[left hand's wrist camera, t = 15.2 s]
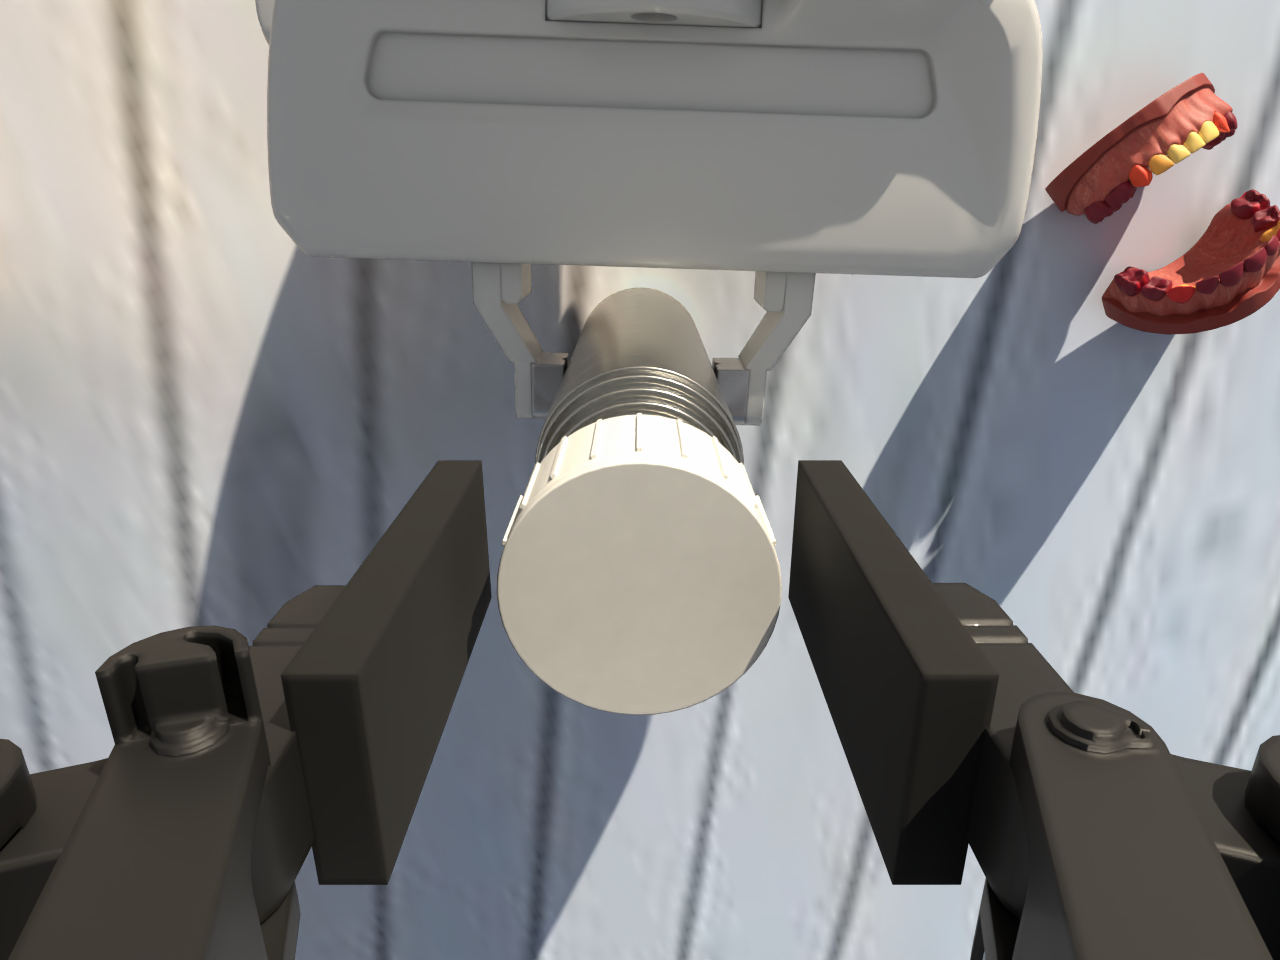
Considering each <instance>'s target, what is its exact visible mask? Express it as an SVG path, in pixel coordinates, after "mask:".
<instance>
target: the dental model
mask: <svg viewBox="0 0 1280 960" xmlns="http://www.w3.org/2000/svg"><path fill="white" fill-rule="evenodd" d="M1214 92H1215V89H1214V87H1213V85H1212V84H1211V82H1210V81H1209V80H1208V78H1207V77H1206V76H1205V74H1204V73H1200V74H1197V75H1195V76H1193V77H1191V78H1189V79H1188V80H1186V81H1185V82H1183V83H1181V84H1180V85H1178V86H1176V87H1174V88H1173V89H1171V90H1170V91H1168V92H1166V93H1165V94H1163V95H1162V96H1160V97H1159V98H1157V99H1156V100H1154V101H1153V102H1151V103H1150V104H1149V105H1147V106H1146V107H1144V108H1143V109H1141V110H1140V111H1139V112H1137V113H1136V114H1134V115H1133V116H1132V117H1130V118H1129V119H1128V120H1126V121H1125V122H1124V123H1122V124H1121V125H1119V126H1118V127H1117V128H1115V129H1114V130H1113V131H1111V132H1110V133H1108V134H1107V135H1106V136H1105V137H1103V138H1102V139H1101V140H1099V141H1098V142H1097V143H1096V144H1094V145H1093V146H1092V147H1091V148H1089V149H1088V150H1087V151H1086V152H1084V153H1083V154H1082V155H1081V156H1080V157H1078V158H1077V159H1076V160H1075V161H1074V162H1073V163H1071V164H1070V165H1069V166H1068V167H1067V168H1066V169H1065V170H1063V171H1062V172H1061V173H1060V174H1059V175H1058V176H1057V177H1056V178H1055V179H1054V180H1053V181H1052V182H1051V183H1050V184H1049V185H1048V186H1047V187H1046V189H1045V190H1046V191H1047V193H1048V194H1049V195H1050V197H1051V198H1052V200H1053V201H1054V202H1055V204H1056V205H1057V207H1058V208H1059V209H1060V211H1061V212H1063V211H1065V210H1066V211H1067V212H1068V213H1070V214H1073V215H1083V214H1085V215H1086V217H1087V219H1088V220H1089V221H1090V222H1092V223H1094V224H1097V223H1098V222H1101V221H1102V220H1103V219H1104V218H1105V217H1108V216H1110V215H1112V214H1113V212H1115V211H1117V210H1119V209H1120V208H1121V206H1122V203H1125V202H1127V201H1128V200H1129V198H1132V197H1133V196H1134V193H1135V191H1136V189H1137V187H1142V186H1148V185H1149V184H1150V182H1151V180H1152V172H1153V173H1154V174H1156V175H1159V174H1161V173H1163V172H1165V171H1166V170H1168V169H1169V168H1171V167H1172V166H1173V165H1174V163H1175V164H1177V163H1178V162H1180V161H1182V160H1183V159H1185V158H1186V157H1188V156H1189V155H1190V153H1189V151H1190V152H1191V153H1194V152H1196V151H1197V150H1199V149H1200V148H1204V149H1207V150H1210V149H1212V148H1213V147H1214V146H1216V145H1218V144H1219V143H1221V142H1222V141H1223V140H1225V139H1226V137H1230V136H1232V135H1234V133H1235V129H1237V120H1236V117H1235V116H1234V114H1233V113H1232V111H1233V110H1232V108H1231V107H1230V106H1229V105H1228V104H1227V103H1225V102H1224V101H1223V100H1221V99H1220V98H1219V97H1217V96H1216V95H1215V94H1214ZM1182 145H1184V146H1185V147H1186V148H1187V149H1188V150H1189V151H1188V150H1187V149H1186V148H1185V147H1184V146H1182ZM1166 155H1167V156H1168V157H1167V156H1166ZM1173 162H1174V163H1173ZM1146 167H1149V168H1150V170H1151V171H1152V172H1151V171H1150V170H1149V169H1148V168H1146ZM1279 289H1280V211H1279V209H1278V207H1277V206H1276V205H1274V206H1270V201H1269V199H1268V198H1267V197H1266V196H1265V195H1264V194H1260V193H1259V192H1257V191H1256V190H1249V191H1247V192H1245V193H1244V194H1243V195H1242V196H1241V197H1240V198H1238V199H1234V200H1232V202H1231V204H1228V205H1226V206H1225V207H1224V208H1223V209H1221V210H1220V211H1219V212H1218V213H1217V214H1216V215H1215V216H1214V218H1213V219H1212V221H1211V223H1210V225H1209V227H1208V229H1207V230H1206V232H1205V233H1204V234H1203V236H1202V237H1201V238H1200V240H1199V241H1198V242H1197V243H1196V244H1195V245H1194V246H1193V247H1192V248H1191V249H1190V250H1189V251H1188V252H1187V253H1185V254H1184V255H1183V256H1182V257H1180V258H1179V259H1177V260H1176V261H1174V262H1172V263H1171V264H1169V265H1167V266H1165V267H1163V268H1161V269H1159V270H1156V271H1153V272H1148V273H1147V272H1146V271H1144V270H1142V269H1137V268H1134V267H1127V268H1126V269H1125V270H1124V271H1123V272H1121V273H1119V274H1117V275H1115V277H1114V280H1113V281H1112V282H1111V284H1110V285H1109V287H1108V288H1107V290H1106V291H1105V293H1104V294H1103V296H1102V302H1103V305H1104V309H1105V313H1106V315H1107V316H1108V317H1109V318H1111V319H1113V320H1115V321H1117V322H1118V323H1121V324H1123V325H1125V326H1127V327H1130V328H1133V329H1137V330H1140V331H1145V332H1151V333H1159V334H1189V333H1198V332H1203V331H1208V330H1212V329H1216V328H1219V327H1223V326H1226V325H1229V324H1232V323H1234V322H1237V321H1239V320H1241V319H1243V318H1245V317H1247V316H1249V315H1251V314H1253V313H1254V312H1256V311H1257V310H1259V309H1260V308H1261V307H1263V306H1264V305H1265V304H1266V303H1268V302H1269V301H1270V300H1271V299H1272V298H1273V297H1274V295H1275V294H1276V293H1277V291H1278V290H1279Z"/></svg>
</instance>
